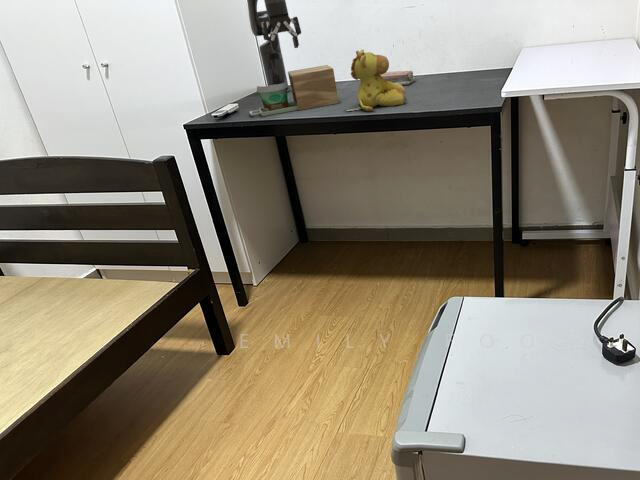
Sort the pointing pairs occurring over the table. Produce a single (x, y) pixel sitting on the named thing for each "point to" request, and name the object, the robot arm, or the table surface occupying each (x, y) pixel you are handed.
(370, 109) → the giraffe plush
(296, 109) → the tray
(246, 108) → the table surface
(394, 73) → the packaged product
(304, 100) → the wooden block
